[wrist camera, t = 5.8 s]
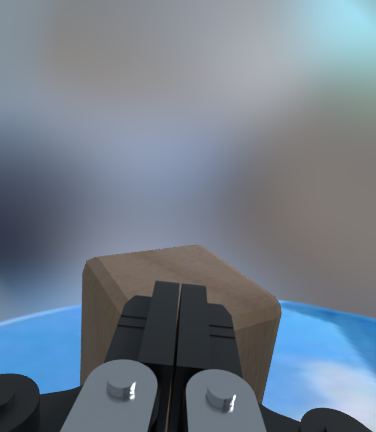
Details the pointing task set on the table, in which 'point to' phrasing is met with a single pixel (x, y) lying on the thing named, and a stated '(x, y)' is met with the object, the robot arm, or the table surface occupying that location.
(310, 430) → the robot arm
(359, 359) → the table surface
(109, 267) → the block
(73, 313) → the table surface
